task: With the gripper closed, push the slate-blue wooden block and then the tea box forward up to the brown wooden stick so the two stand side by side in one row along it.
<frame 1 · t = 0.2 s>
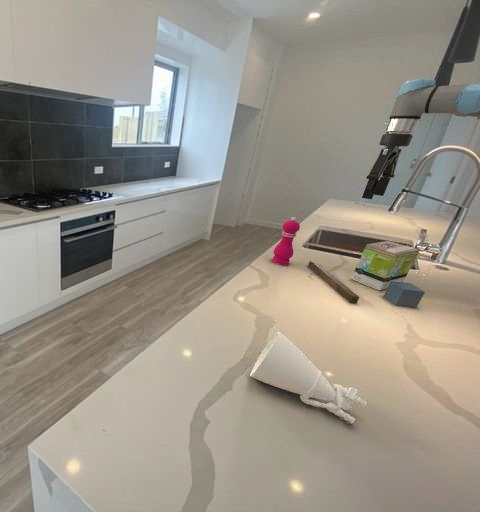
hand: (372, 196, 108), 31 cm above the counter, tool pointing down, fingers open, 13 cm apart
rocket engine: (296, 397, 62), on the counter
blue block: (399, 301, 100), on the counter
tea box: (375, 282, 113), on the counter
pepper mill: (280, 262, 128), on the counter
brown wooden stick: (329, 282, 112), on the counter
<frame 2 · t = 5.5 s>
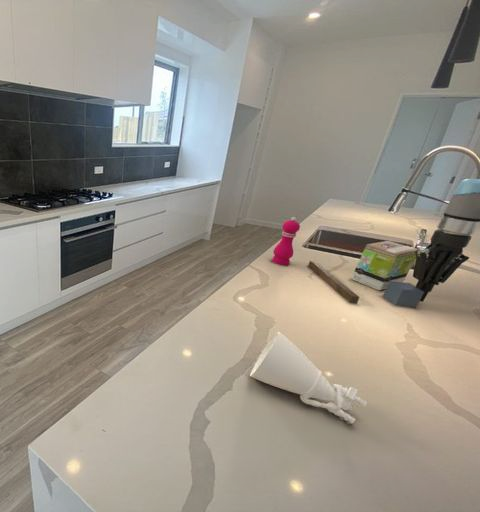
hand: (417, 299, 99), 2 cm above the counter, tool pointing down, fingers closed
blue block: (398, 301, 100), on the counter, touching gripper
everything else where it was.
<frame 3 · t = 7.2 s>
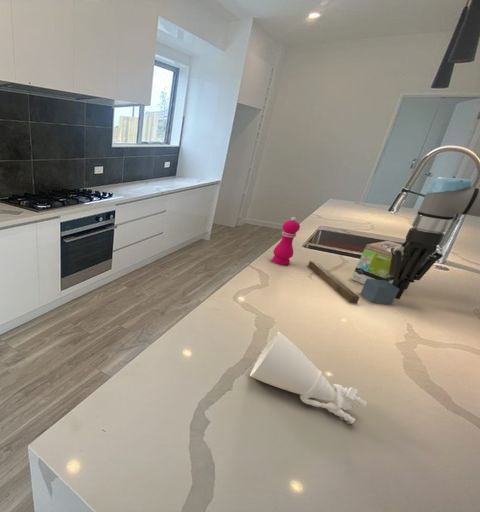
hand: (394, 296, 100), 2 cm above the counter, tool pointing down, fingers closed
blue block: (375, 299, 101), on the counter, touching gripper
everything else where it was.
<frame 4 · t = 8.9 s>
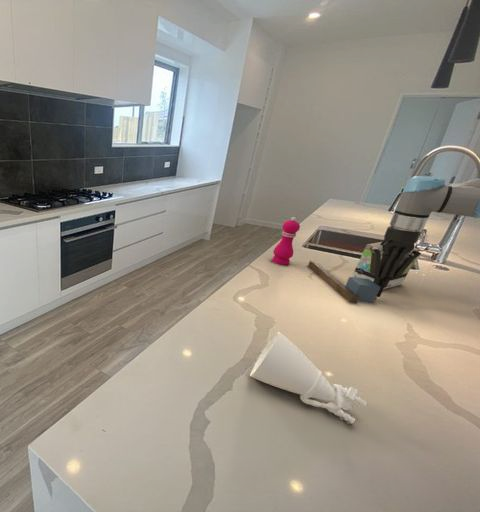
hand: (375, 294, 101), 2 cm above the counter, tool pointing down, fingers closed
blue block: (357, 297, 102), on the counter, touching gripper, brown wooden stick
everything else where it was.
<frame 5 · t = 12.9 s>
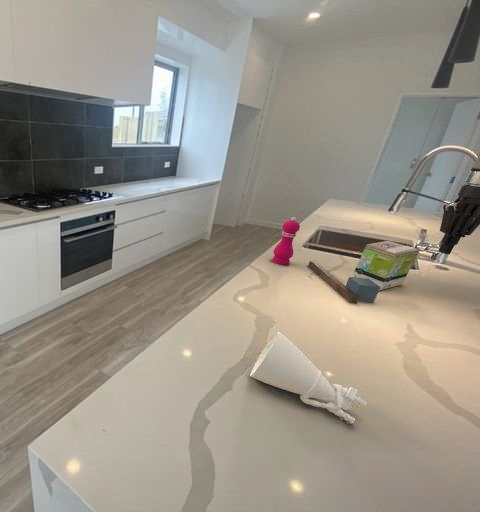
hand: (443, 252, 105), 14 cm above the counter, tool pointing down, fingers closed
blue block: (357, 297, 102), on the counter
everything else where it was.
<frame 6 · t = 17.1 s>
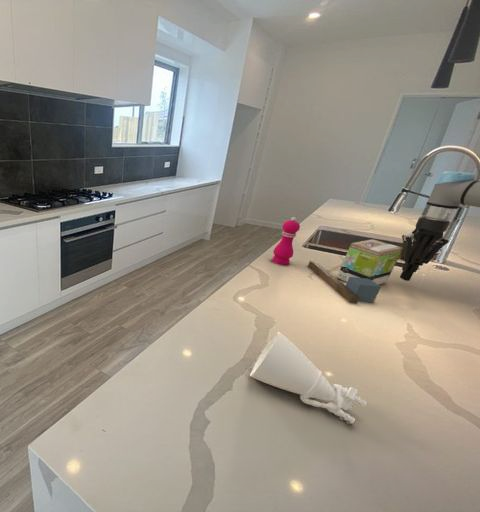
hand: (404, 279, 111), 2 cm above the counter, tool pointing down, fingers closed
tea box: (360, 281, 114), on the counter, touching hand
everything else where it was.
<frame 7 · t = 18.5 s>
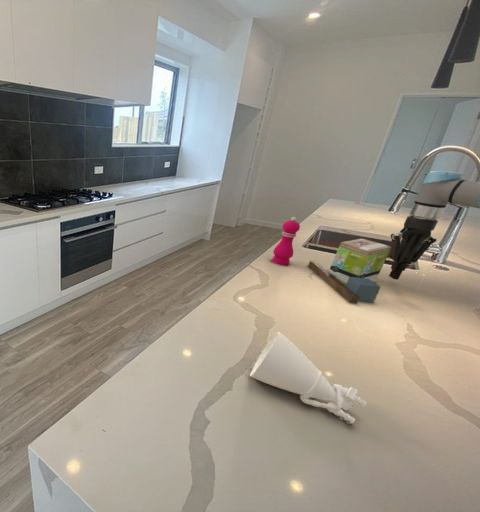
hand: (393, 277, 112), 2 cm above the counter, tool pointing down, fingers closed
tea box: (350, 280, 115), on the counter, touching hand, brown wooden stick
everything else where it was.
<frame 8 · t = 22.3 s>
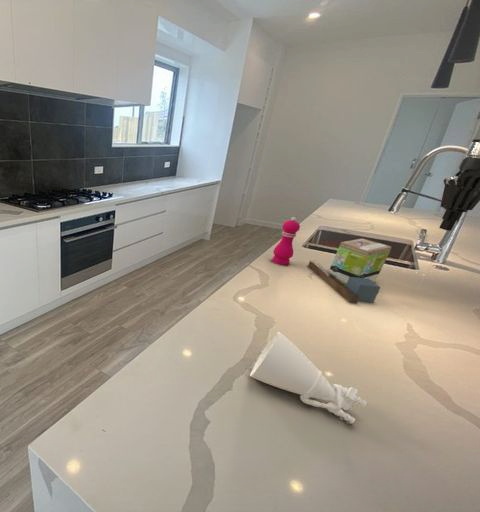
hand: (444, 229, 102), 22 cm above the counter, tool pointing down, fingers closed
tea box: (350, 280, 115), on the counter
everything else where it was.
at the end: blue block 0.2 cm from the target spot, on the counter; tea box inside the target area (0.6 cm from its centre), on the counter; tea box tilted 0° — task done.
